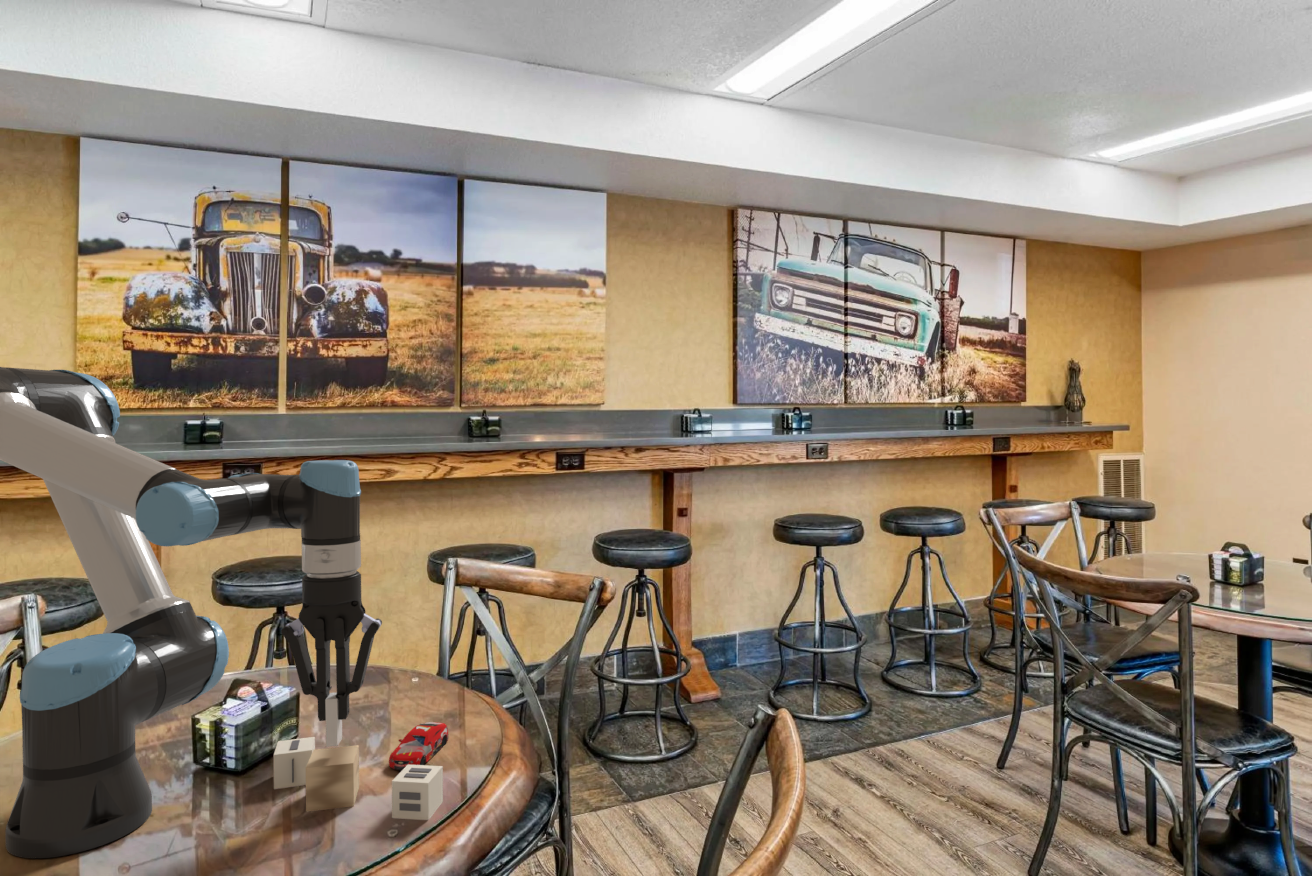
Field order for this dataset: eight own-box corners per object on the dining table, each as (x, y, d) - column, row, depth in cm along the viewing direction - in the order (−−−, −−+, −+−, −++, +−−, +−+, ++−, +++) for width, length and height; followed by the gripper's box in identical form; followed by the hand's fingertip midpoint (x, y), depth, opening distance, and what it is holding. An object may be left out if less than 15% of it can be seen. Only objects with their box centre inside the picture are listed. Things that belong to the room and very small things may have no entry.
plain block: (306, 812, 104) (305, 768, 104) (314, 791, 110) (313, 749, 110) (353, 806, 106) (353, 763, 105) (359, 786, 111) (358, 745, 111)
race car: (416, 776, 115) (416, 750, 115) (382, 773, 116) (382, 747, 116) (454, 740, 128) (454, 716, 128) (423, 737, 129) (423, 713, 129)
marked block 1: (273, 791, 110) (273, 755, 110) (278, 774, 115) (278, 740, 115) (312, 786, 111) (311, 750, 111) (315, 769, 117) (314, 735, 117)
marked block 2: (391, 819, 102) (391, 780, 102) (408, 800, 107) (407, 763, 107) (428, 821, 102) (427, 782, 102) (442, 802, 107) (442, 765, 107)
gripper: (272, 579, 102) (275, 757, 103) (375, 576, 104) (378, 750, 105) (289, 569, 110) (292, 734, 110) (386, 565, 112) (388, 728, 112)
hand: (334, 742), depth 108 cm, fingers closed
